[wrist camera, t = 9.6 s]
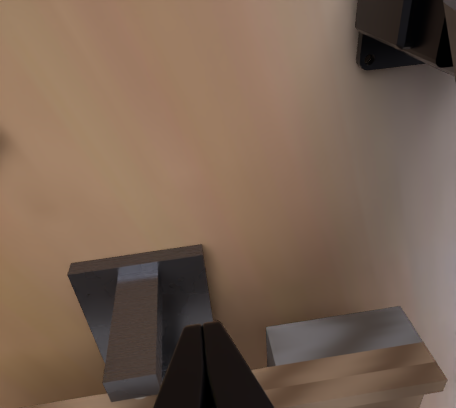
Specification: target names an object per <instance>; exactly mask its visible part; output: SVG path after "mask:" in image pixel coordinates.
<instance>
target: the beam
mask: <svg viewBox="0 0 456 408" xmlns="http://www.w3.org/2000/svg"><path fill="white" fill-rule="evenodd" d="M266 342H267V367H266V368H260V369H254V370H251V371H252V372H253V374H254V376H255V377H256V379H257V380H258V382H259V384H260V385H261V387H262V388H263V390H264V392H265V393H266V395H267V396H268V398H269V399H270V401H271V403H272V404H273V406H274V407H275V408H419V407H420V404H421V401H422V398H423V396H424V394H430V393H436V392H441V391H443V389H444V387H445V385H446V382H447V378H446V377H445V375H444V374H443V372H442V370H441V369H440V367H439V366H438V364H437V363H436V361H435V360H434V358H433V356H432V355H431V353H430V352H429V350H428V349H427V347H426V346H425V344H424V342H423V341H422V339H421V338H420V336H419V335H418V333H417V332H416V330H415V328H414V327H413V325H412V324H411V322H410V321H409V319H408V317H407V316H406V314H405V313H404V311H403V310H402V308H401V307H400V306H397V307H391V308H385V309H378V310H372V311H365V312H359V313H353V314H346V315H340V316H334V317H327V318H321V319H314V320H308V321H302V322H295V323H289V324H282V325H276V326H270V327H266ZM157 395H158V394H157ZM157 395H151V396H145V397H139V398H134V399H128V400H122V401H116V402H111V401H110V399H109V396H108V394H107V393H106V394H100V395H94V396H88V397H82V398H76V399H69V400H63V401H57V402H51V403H45V404H39V405H33V406H27V407H20V408H153V406H154V403H155V400H156V398H157Z"/></svg>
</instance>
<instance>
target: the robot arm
mask: <svg viewBox="0 0 456 408" xmlns="http://www.w3.org/2000/svg"><path fill="white" fill-rule="evenodd" d="M355 27H356V29H357V30H358V31H359V37H358V47H357V56H356V62H357V64H358V66H359V67H361V68H362V69H364V70H375V69H383V68H392V67H400V66H408V65H417V64H425V63H426V64H429V65H431V66H433V67H435V68H437V69H440V70H442V71H444V72H446V73H448V74H451V75H453V76H455V80H456V0H358V3H357V13H356V24H355ZM369 54H371V59H370V61H369V62H367V63H365V57H366V56H367V55H369ZM153 408H275V407H274V406H273V404H272V403H271V401H270V399H269V398H268V396H267V395H266V393H265V392H264V390H263V388H262V387H261V385H260V384H259V382H258V380H257V379H256V377H255V376H254V374H253V372H252V371H251V369H250V368H249V366H248V365H247V363H246V361H245V360H244V358H243V357H242V355H241V353H240V352H239V350H238V349H237V347H236V345H235V344H234V342H233V341H232V339H231V338H230V336H229V334H228V333H227V331H226V330H225V328H224V326H223V325H222V323H221V322H220V321H212V322H205V323H204V324H203V326H202V325H201V324H193V325H187V326H185V327H184V328H183V330H182V333H181V335H180V338H179V340H178V343H177V346H176V348H175V351H174V353H173V356H172V359H171V361H170V364H169V366H168V369H167V372H166V374H165V377H164V380H163V382H162V385H161V387H160V390H159V393H158V395H157V398H156V400H155V403H154V406H153Z"/></svg>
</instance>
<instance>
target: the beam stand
mask: <svg viewBox="0 0 456 408" xmlns="http://www.w3.org/2000/svg"><path fill="white" fill-rule="evenodd" d="M68 277H69V280H70V282H71V284H72V287H73V289H74V291H75V294H76V296H77V299H78V301H79V303H80V306H81V308H82V310H83V313H84V315H85V317H86V320H87V322H88V325H89V327H90V329H91V332H92V334H93V336H94V339H95V341H96V343H97V346H98V348H99V350H100V353H101V355H102V358H103V360H104V362H105V370H104V377H103V385H104V387H105V390H106V392H107V394H108V396H109V399H110V401H111V402H116V401H122V400H128V399H134V398H139V397H145V396H151V395H157V394H158V393H159V390H160V387H161V385H162V382H163V380H164V377H165V374H166V372H167V369H168V366H169V364H170V361H171V359H172V356H173V353H174V351H175V348H176V346H177V343H178V340H179V338H180V335H181V333H182V330H183V328H184V327H185V326H187V325H193V324H201V325H202V326H203V324H204V323H205V322H212V321H213V317H212V310H211V304H210V297H209V290H208V284H207V277H206V270H205V264H204V257H203V250H202V244H201V245H194V246H187V247H180V248H174V249H167V250H160V251H153V252H146V253H139V254H133V255H126V256H119V257H112V258H105V259H98V260H92V261H85V262H78V263H71V265H70V268H69V272H68Z"/></svg>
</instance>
